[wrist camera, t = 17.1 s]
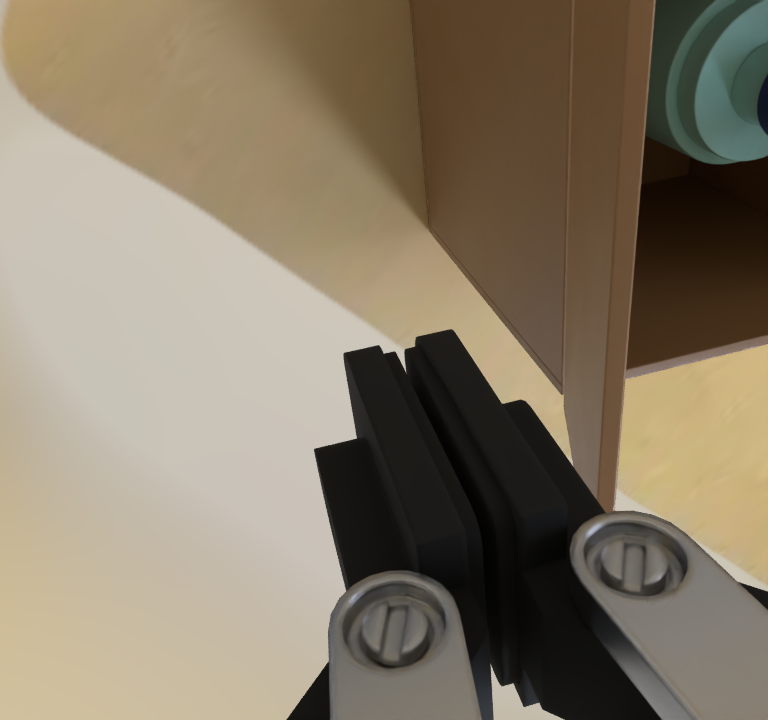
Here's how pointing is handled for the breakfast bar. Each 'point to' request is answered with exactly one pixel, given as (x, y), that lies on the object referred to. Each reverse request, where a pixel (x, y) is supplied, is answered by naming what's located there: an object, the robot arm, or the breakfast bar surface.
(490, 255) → the carton
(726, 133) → the bottle
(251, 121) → the breakfast bar surface
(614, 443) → the flap
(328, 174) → the breakfast bar surface
